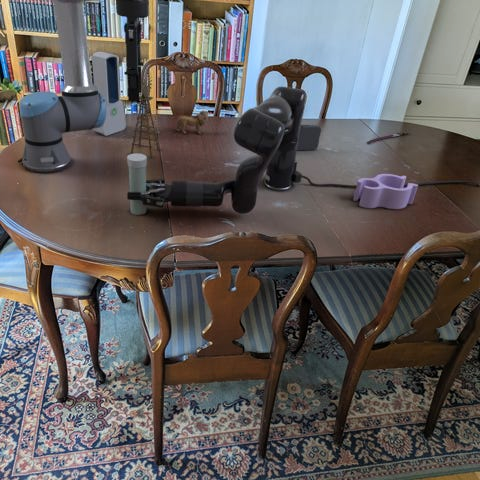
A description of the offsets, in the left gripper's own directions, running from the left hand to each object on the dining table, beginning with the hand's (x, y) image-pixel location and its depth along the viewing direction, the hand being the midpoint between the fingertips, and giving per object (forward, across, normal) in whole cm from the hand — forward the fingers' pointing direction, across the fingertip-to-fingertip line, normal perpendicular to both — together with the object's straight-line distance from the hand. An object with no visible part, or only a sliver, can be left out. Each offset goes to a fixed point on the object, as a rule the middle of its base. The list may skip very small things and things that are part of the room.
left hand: (135, 96), depth 120 cm
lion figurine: (+34, -68, +18) cm, 78 cm away
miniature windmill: (+34, -45, 0) cm, 56 cm away
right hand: (+28, 0, -3) cm, 28 cm away
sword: (+34, -72, +108) cm, 134 cm away
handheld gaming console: (+34, -53, +58) cm, 86 cm away
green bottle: (+34, 0, 0) cm, 34 cm away
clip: (+34, -11, +81) cm, 88 cm away
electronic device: (+34, -65, -16) cm, 75 cm away
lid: (+17, 0, 0) cm, 17 cm away
